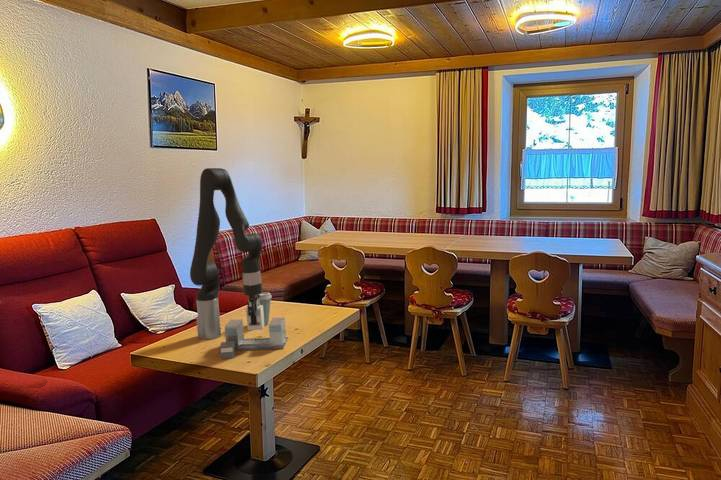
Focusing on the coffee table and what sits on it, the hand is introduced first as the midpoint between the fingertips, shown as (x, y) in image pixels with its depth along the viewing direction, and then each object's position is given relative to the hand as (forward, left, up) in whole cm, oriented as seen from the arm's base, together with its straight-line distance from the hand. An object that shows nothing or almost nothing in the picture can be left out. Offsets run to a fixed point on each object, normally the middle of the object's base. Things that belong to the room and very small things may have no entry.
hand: (255, 322), depth 223 cm
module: (0, 0, -3) cm, 3 cm away
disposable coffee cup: (-4, +31, -10) cm, 33 cm away
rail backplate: (0, 0, -10) cm, 10 cm away
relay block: (-9, -12, -10) cm, 18 cm away
